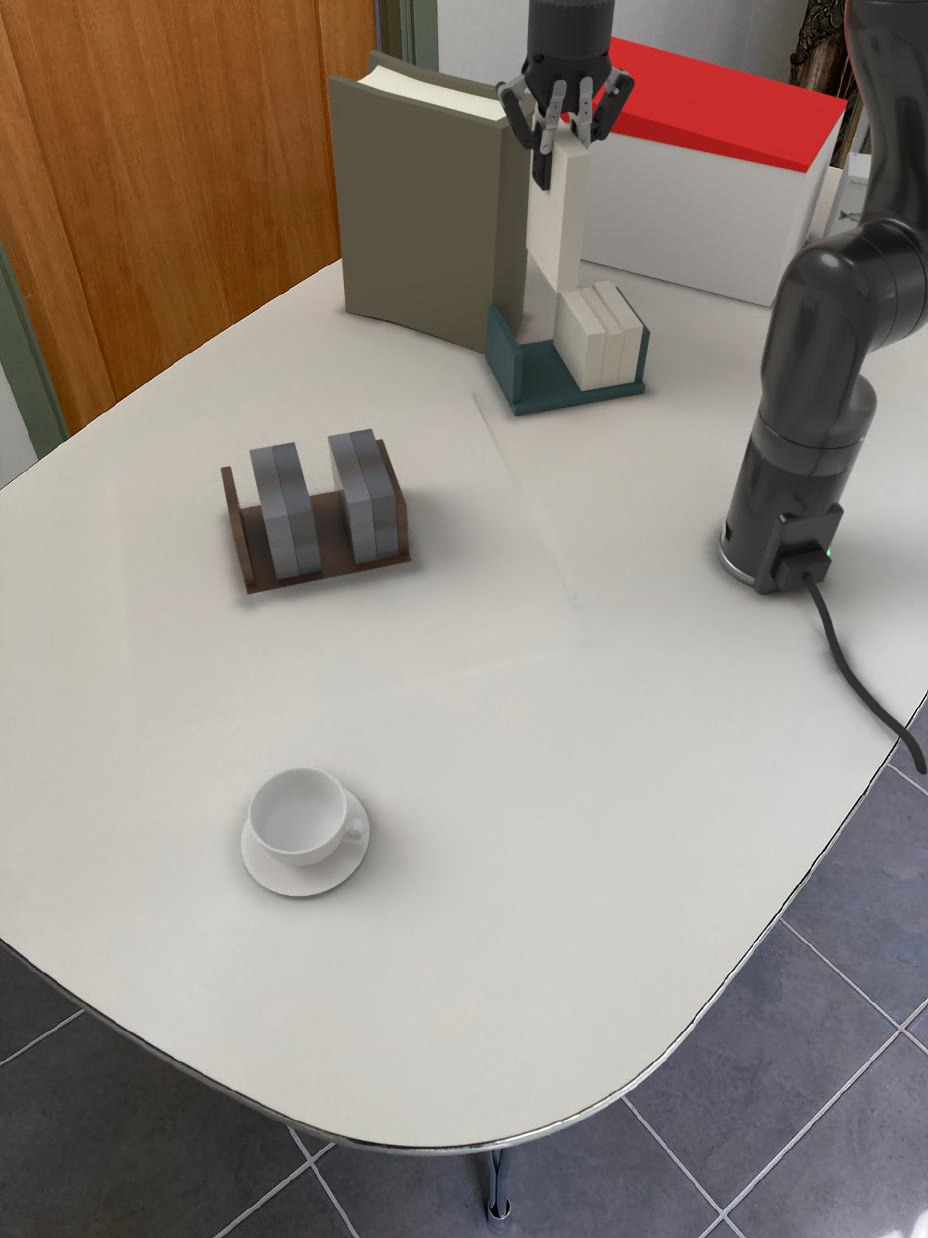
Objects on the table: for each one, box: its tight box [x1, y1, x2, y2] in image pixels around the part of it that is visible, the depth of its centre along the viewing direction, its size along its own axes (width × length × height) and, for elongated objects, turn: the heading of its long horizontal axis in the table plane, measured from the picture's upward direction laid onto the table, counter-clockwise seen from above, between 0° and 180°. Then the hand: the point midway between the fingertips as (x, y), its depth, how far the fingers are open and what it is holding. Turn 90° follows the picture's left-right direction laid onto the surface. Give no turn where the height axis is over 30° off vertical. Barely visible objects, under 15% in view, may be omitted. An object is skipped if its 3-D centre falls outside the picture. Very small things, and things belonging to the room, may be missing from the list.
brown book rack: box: [220, 428, 413, 595], centre depth 92 cm, size 12×16×9 cm
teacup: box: [240, 765, 371, 897], centre depth 73 cm, size 10×10×5 cm
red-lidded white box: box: [560, 35, 849, 308], centre depth 127 cm, size 21×35×21 cm, turn 63°
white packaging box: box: [821, 151, 871, 240], centre depth 127 cm, size 7×7×13 cm
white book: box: [526, 115, 591, 294], centre depth 98 cm, size 10×2×14 cm, turn 16°
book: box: [327, 49, 536, 355], centre depth 112 cm, size 22×9×28 cm, turn 62°
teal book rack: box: [484, 280, 651, 417], centre depth 111 cm, size 12×16×8 cm
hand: (557, 184), depth 96 cm, fingers closed on white book, 2 cm apart
